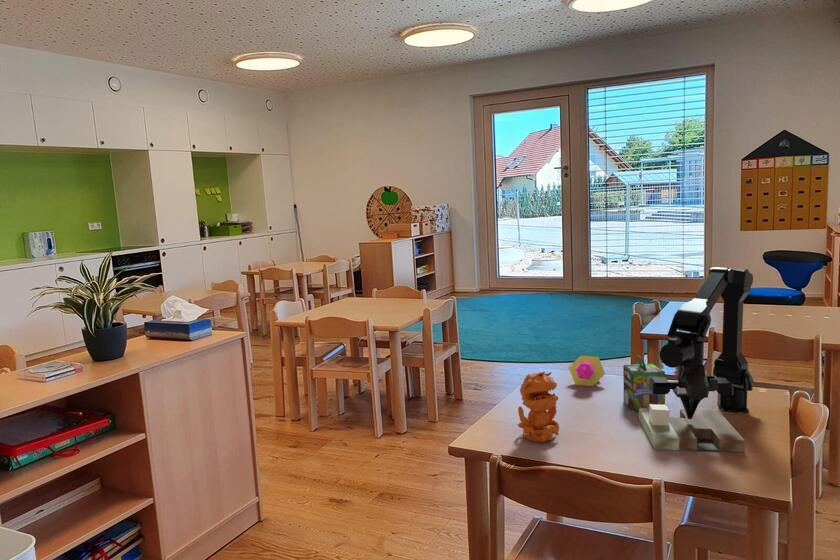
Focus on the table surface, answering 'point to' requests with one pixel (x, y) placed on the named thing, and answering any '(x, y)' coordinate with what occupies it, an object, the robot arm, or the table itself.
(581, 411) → the table surface
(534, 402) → the toy dinosaur
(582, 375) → the toy
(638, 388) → the chalk box
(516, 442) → the table surface
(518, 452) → the table surface
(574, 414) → the table surface
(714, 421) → the board
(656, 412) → the cream block
